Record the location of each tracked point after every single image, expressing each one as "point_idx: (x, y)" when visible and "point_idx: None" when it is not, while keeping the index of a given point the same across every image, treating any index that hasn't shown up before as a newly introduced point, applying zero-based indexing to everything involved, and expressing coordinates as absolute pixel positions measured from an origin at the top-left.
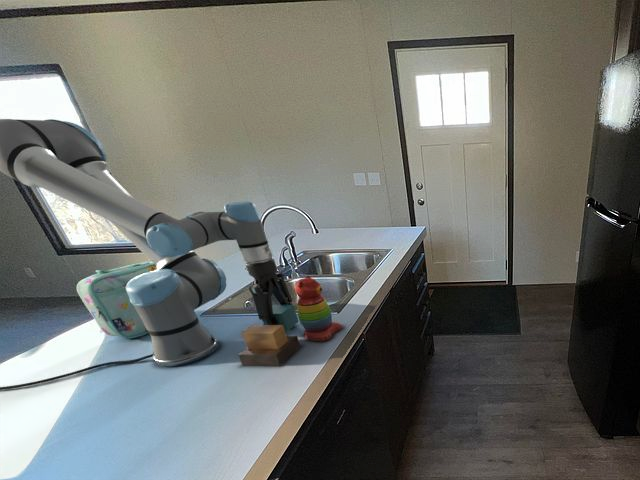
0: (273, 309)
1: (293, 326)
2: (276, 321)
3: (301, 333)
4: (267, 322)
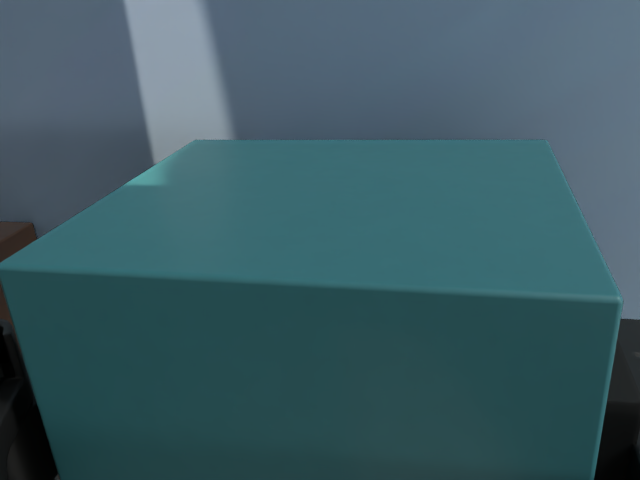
0: (272, 457)
1: None
2: None
3: None
4: None
